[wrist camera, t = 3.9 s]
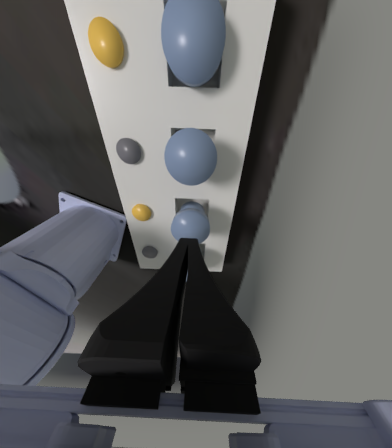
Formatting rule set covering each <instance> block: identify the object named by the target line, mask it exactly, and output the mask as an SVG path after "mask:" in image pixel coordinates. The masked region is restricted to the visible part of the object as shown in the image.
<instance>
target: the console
mask: <svg viewBox="0 0 392 448" xmlns="http://www.w3.org/2000/svg"><path fill="white" fill-rule="evenodd" d="M167 1H168V0H64V2H65V5H66V9H67V12H68V16H69V19H70V23H71V26H72V30H73V33H74V37H75V40H76V44H77V47H78V51H79V55H80V58H81V62H82V65H83V69H84V72H85V76H86V79H87V83H88V86H89V90H90V93H91V97H92V100H93V104H94V107H95V111H96V114H97V118H98V121H99V125H100V128H101V132H102V135H103V139H104V142H105V146H106V149H107V153H108V156H109V160H110V163H111V167H112V170H113V174H114V178H115V181H116V185H117V188H118V192H119V195H120V199H121V202H122V206H123V209H124V213H125V216H126V220H127V223H128V227H129V230H130V234H131V237H132V241H133V244H134V248H135V251H136V255H137V258H138V262H139V265H140V268H147V269H160V268H161V267H162V265H163V264H164V263H165V261H166V260H167V259H168V257H169V256H170V254H171V253H172V251H173V250H174V248H175V247H176V245H177V243H178V241H177V240H176V239H175V238H174V237H173V235H172V233H171V224H172V221H173V218H174V216H175V215H176V213H177V212H179V211H180V208H181V206H182V205H183V204H185V203H186V202H190V201H194V202H197V203H199V204H201V205H202V206H203V208H204V210H205V214H206V215H207V217H208V219H209V223H210V234H209V236H208V238H207V239H206V240H205V241H204V242H202V243H200V244H199V247H200V249H201V251H202V256H203V259H204V261H205V264H206V266H207V268H208V270H209V271H217V272H222V267H223V262H224V257H225V252H226V247H227V242H228V237H229V232H230V228H231V223H232V218H233V213H234V208H235V203H236V198H237V193H238V188H239V183H240V178H241V173H242V168H243V163H244V158H245V153H246V148H247V143H248V138H249V133H250V128H251V123H252V118H253V113H254V108H255V103H256V98H257V93H258V88H259V83H260V78H261V73H262V68H263V63H264V58H265V53H266V48H267V43H268V38H269V33H270V28H271V23H272V18H273V13H274V8H275V3H276V0H219V2H220V4H221V6H222V10H223V13H224V18H225V25H226V39H225V46H224V50H223V54H222V58H221V61H220V64H219V67H218V69H217V71H216V73H215V74H214V75H213V77H212V78H211V79H210V80H209V81H208V82H207V83H205V84H204V85H202V86H200V87H190V86H187V85H185V84H183V83H182V82H180V81H179V80H178V79H177V78H176V77H175V75H174V74H173V72H172V70H171V68H170V66H169V64H168V62H167V60H166V57H165V55H164V51H163V47H162V40H161V23H162V17H163V12H164V9H165V6H166V3H167ZM184 128H196V129H199V130H201V131H203V132H205V133H206V134H207V135H208V136H209V137H210V138H211V139H212V141H213V143H214V145H215V147H216V151H217V164H216V168H215V170H214V172H213V174H212V175H211V177H210V178H209V179H208V180H206V181H205V182H203V183H201V184H199V185H194V186H189V185H184V184H181V183H179V182H178V181H176V180H175V179H174V178H173V177H172V176H171V175H170V173H169V172H168V170H167V167H166V164H165V159H164V153H165V147H166V145H167V142H168V141H169V139H170V138H171V136H172V135H173V134H175V133H176V132H177V131H179V130H181V129H184Z"/></svg>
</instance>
